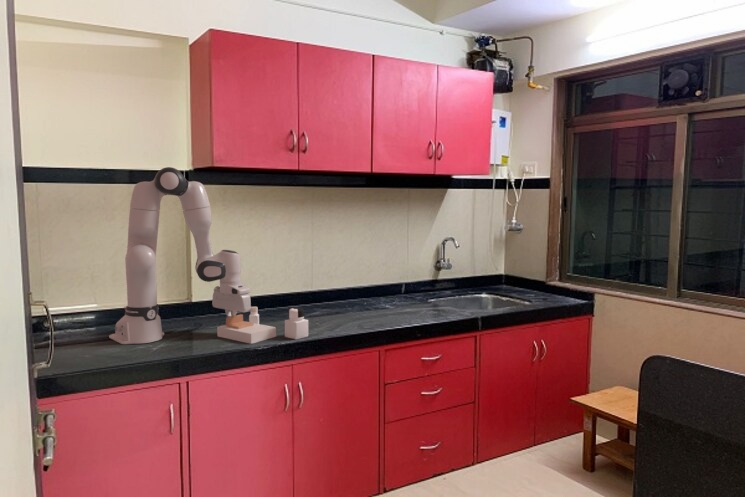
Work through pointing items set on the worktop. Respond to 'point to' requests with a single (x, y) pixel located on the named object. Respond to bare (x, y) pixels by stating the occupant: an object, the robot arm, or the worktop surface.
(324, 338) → the worktop surface
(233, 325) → the orange l-shaped bracket
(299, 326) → the white stepped block
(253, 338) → the white tray
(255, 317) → the salt shaker
